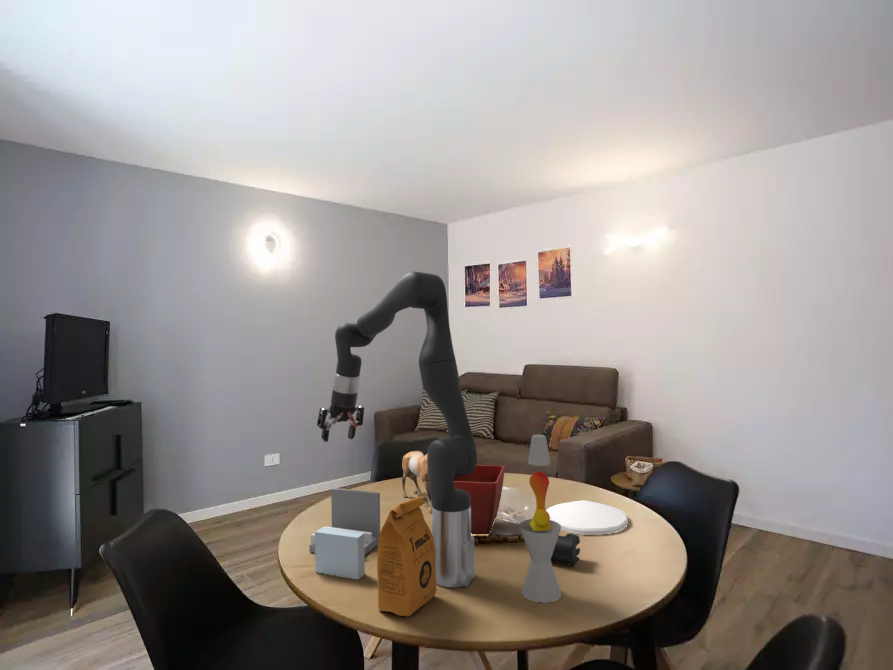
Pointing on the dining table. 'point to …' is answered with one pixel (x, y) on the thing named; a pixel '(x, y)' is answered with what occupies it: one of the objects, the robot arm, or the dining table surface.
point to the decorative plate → (588, 517)
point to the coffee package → (406, 560)
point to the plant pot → (482, 495)
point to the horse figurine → (416, 472)
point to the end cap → (566, 549)
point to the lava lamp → (540, 532)
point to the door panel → (339, 553)
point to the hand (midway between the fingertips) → (337, 439)
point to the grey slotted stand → (355, 515)
